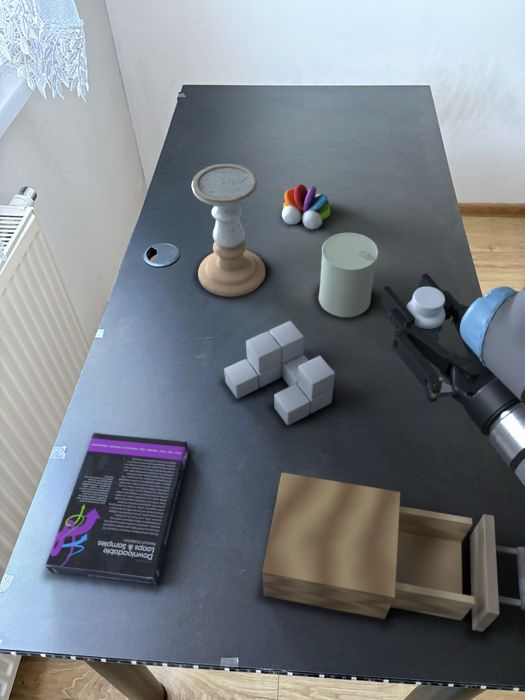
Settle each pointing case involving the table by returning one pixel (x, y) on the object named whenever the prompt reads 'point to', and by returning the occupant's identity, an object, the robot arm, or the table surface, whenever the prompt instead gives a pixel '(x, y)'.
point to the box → (120, 509)
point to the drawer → (450, 567)
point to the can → (347, 274)
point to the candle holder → (228, 231)
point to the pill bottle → (428, 311)
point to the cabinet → (333, 545)
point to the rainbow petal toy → (305, 207)
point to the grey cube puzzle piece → (283, 373)
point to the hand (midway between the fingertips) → (403, 287)
